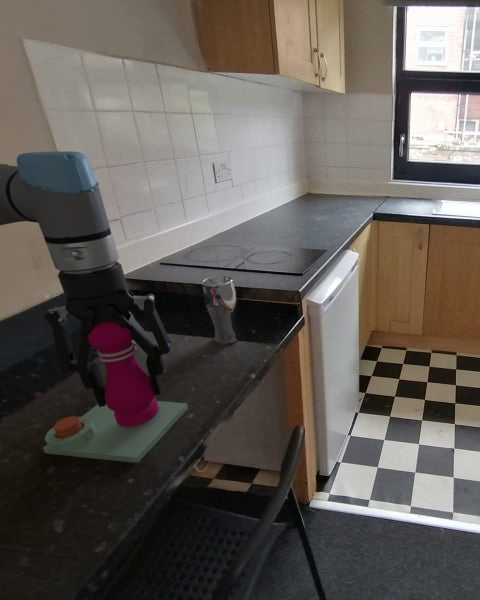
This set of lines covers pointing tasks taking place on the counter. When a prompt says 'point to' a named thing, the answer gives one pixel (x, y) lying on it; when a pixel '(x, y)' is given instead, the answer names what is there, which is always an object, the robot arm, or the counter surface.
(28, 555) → the counter surface
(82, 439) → the scale
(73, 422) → the power button
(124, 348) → the pepper mill
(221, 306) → the beer glass
